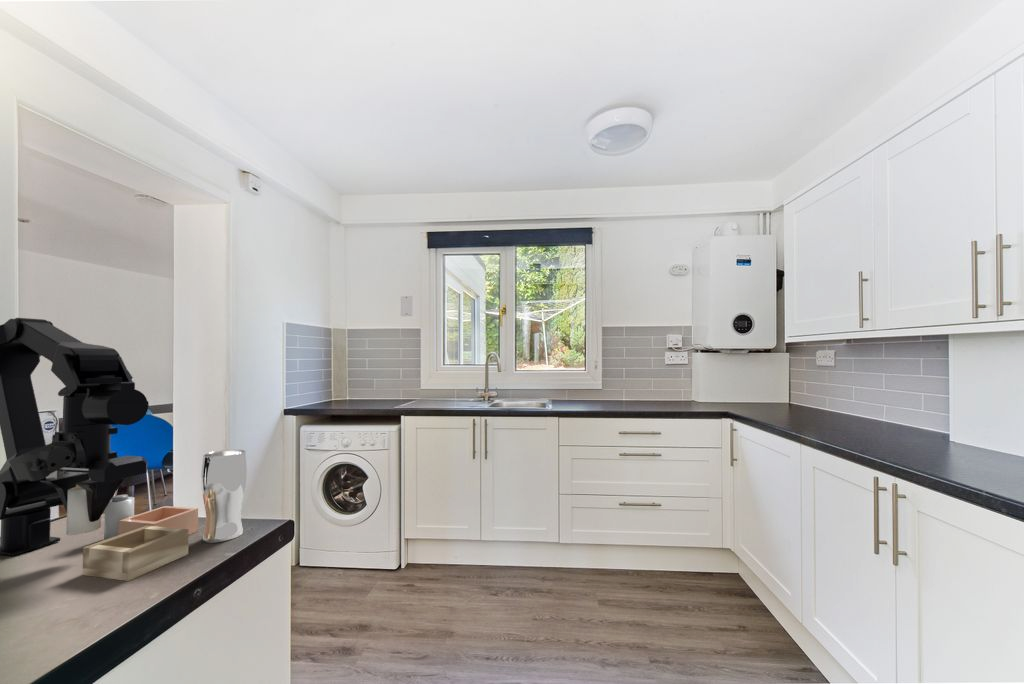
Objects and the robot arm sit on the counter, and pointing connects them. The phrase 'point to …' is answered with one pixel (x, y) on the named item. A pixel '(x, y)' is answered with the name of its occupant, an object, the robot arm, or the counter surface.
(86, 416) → the robot arm
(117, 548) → the frame
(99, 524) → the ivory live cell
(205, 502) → the beer glass
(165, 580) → the counter surface
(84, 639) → the counter surface
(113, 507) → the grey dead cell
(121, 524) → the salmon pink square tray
